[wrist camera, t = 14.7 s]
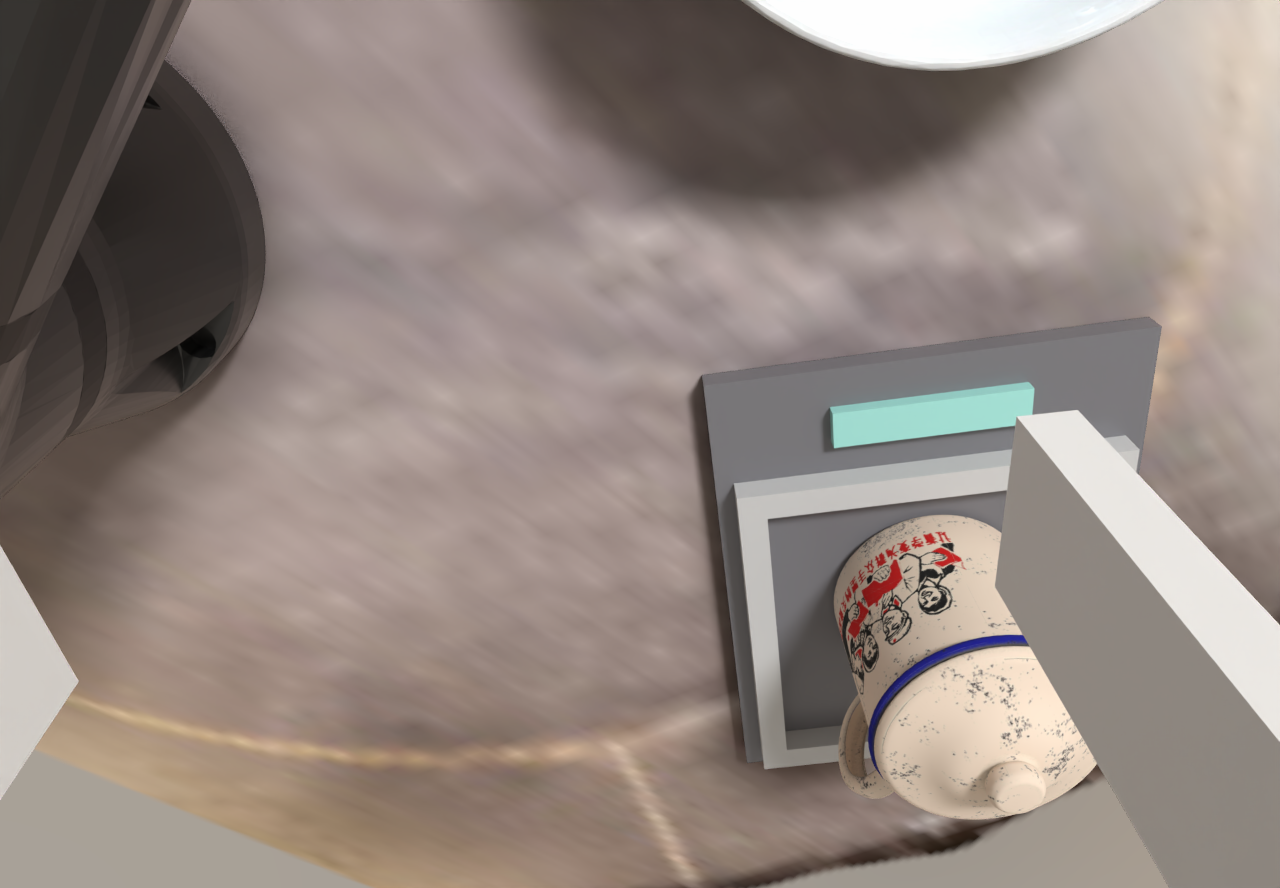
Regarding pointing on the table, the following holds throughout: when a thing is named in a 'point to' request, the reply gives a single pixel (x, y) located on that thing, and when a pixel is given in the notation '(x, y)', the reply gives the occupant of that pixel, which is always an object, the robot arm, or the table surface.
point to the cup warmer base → (878, 487)
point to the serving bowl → (948, 28)
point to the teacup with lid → (947, 679)
